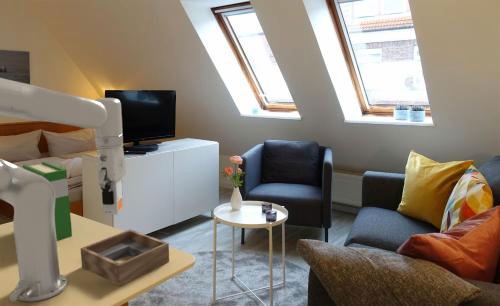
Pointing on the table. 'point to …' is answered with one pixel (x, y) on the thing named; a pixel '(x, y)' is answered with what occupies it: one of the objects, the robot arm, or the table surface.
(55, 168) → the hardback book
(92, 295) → the table surface
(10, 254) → the table surface
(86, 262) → the socket box
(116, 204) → the skincare box
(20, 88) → the robot arm
